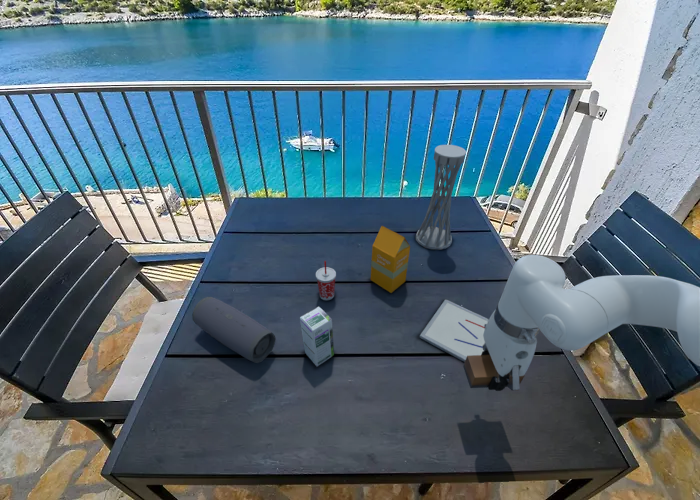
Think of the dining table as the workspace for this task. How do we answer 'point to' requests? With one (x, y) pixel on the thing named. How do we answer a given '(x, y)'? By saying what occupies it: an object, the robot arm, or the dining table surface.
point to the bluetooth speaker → (234, 329)
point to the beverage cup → (326, 282)
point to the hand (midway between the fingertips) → (490, 374)
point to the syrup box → (317, 335)
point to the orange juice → (389, 259)
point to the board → (456, 331)
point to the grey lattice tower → (434, 235)
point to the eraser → (480, 371)
